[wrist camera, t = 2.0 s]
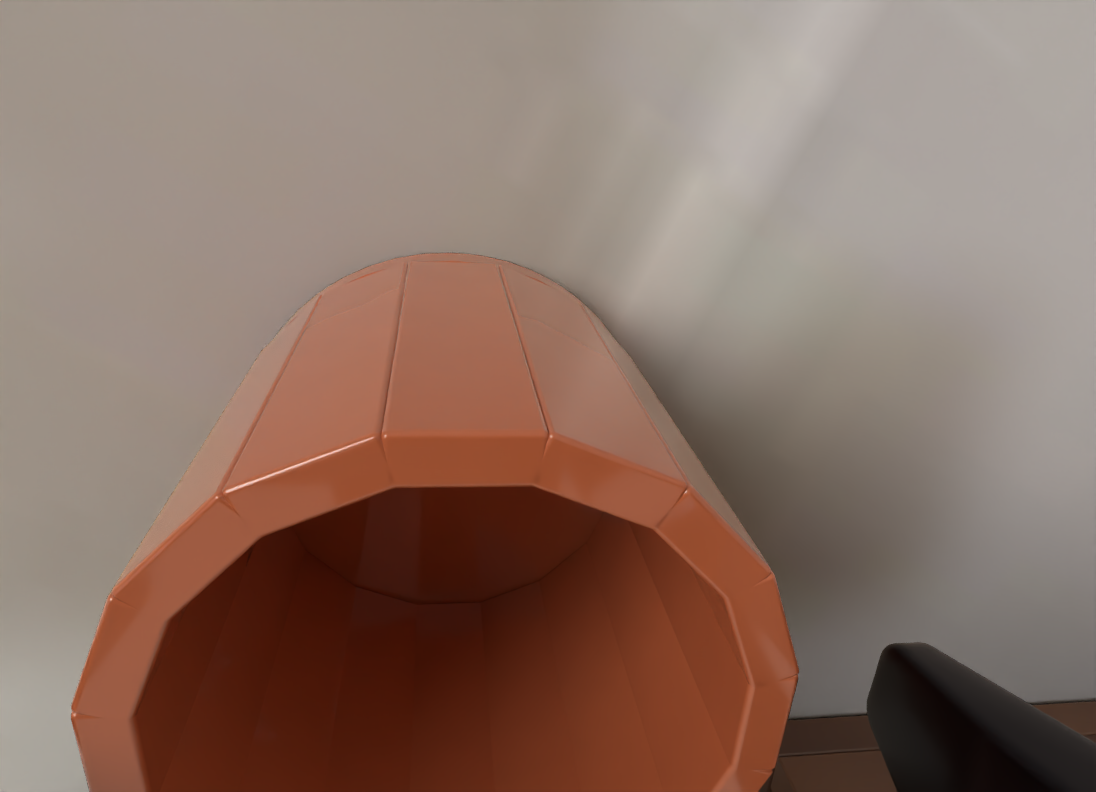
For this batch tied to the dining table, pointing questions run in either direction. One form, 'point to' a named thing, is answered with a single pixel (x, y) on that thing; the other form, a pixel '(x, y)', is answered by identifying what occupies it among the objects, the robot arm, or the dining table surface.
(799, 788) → the cabinet
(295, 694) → the cup
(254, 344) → the dining table surface
